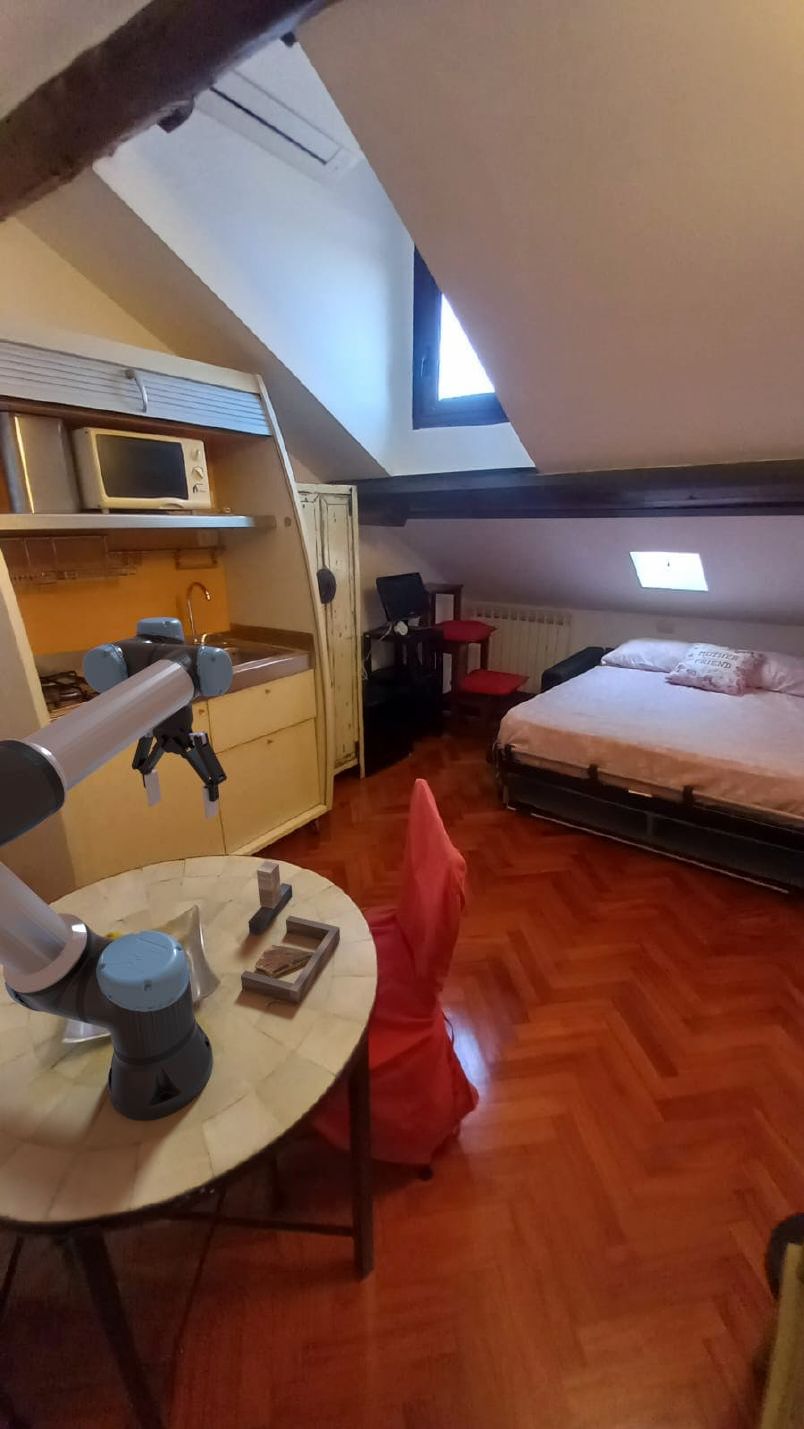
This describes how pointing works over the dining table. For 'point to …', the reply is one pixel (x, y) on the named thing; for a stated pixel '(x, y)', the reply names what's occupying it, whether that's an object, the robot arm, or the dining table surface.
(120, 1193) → the dining table surface
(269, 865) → the scraper
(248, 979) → the walnut bay
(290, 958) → the shard
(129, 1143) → the dining table surface
